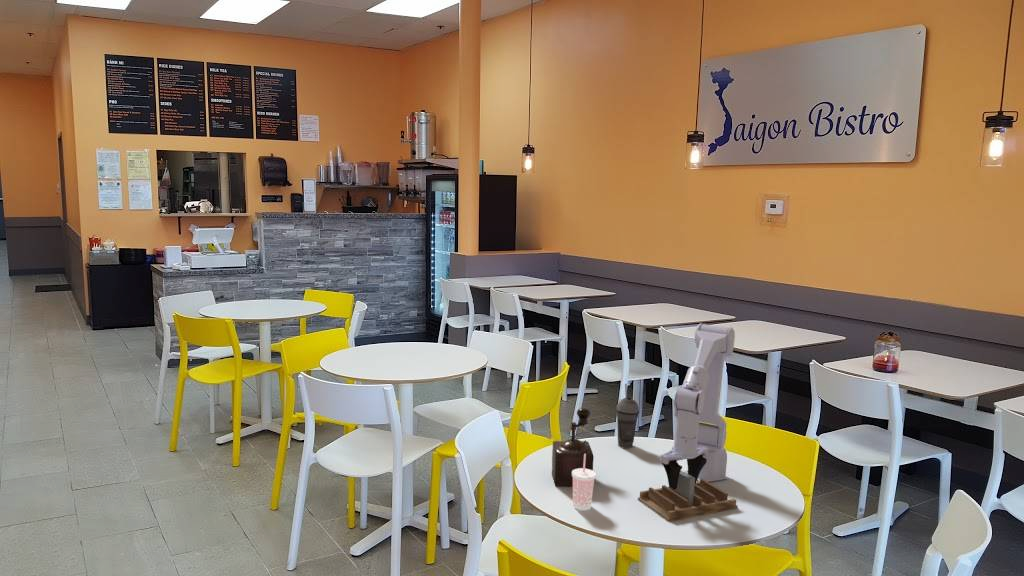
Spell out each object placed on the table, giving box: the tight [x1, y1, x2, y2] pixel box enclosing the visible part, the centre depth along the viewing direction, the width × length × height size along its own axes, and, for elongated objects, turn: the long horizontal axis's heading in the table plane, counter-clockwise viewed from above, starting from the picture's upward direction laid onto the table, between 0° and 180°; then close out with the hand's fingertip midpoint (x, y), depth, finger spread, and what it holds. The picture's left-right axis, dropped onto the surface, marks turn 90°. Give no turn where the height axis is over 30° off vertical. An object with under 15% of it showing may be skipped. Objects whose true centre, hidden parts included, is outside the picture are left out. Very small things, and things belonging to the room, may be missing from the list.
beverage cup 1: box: [572, 454, 597, 511], centre depth 181 cm, size 6×6×14 cm
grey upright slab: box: [670, 470, 695, 507], centre depth 185 cm, size 2×7×8 cm, turn 30°
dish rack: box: [637, 479, 738, 522], centre depth 186 cm, size 22×13×4 cm, turn 115°
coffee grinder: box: [551, 407, 594, 488], centre depth 200 cm, size 16×11×18 cm
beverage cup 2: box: [615, 383, 640, 449], centre depth 225 cm, size 7×7×20 cm
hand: (682, 485), depth 185 cm, fingers open, 6 cm apart
